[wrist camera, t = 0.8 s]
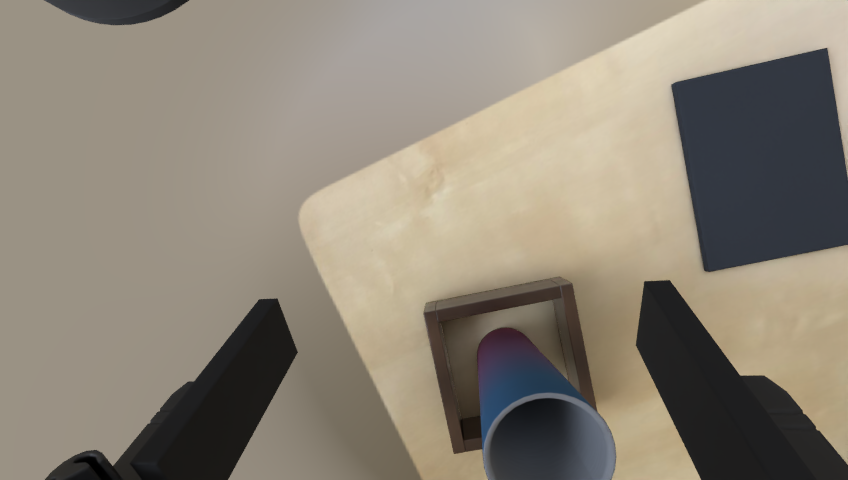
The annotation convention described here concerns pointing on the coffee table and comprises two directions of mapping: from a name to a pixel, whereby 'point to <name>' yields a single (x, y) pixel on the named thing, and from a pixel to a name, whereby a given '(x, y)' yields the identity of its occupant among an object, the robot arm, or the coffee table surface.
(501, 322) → the coffee table surface
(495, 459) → the cup
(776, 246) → the mat
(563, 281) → the cup holder
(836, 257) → the coffee table surface
